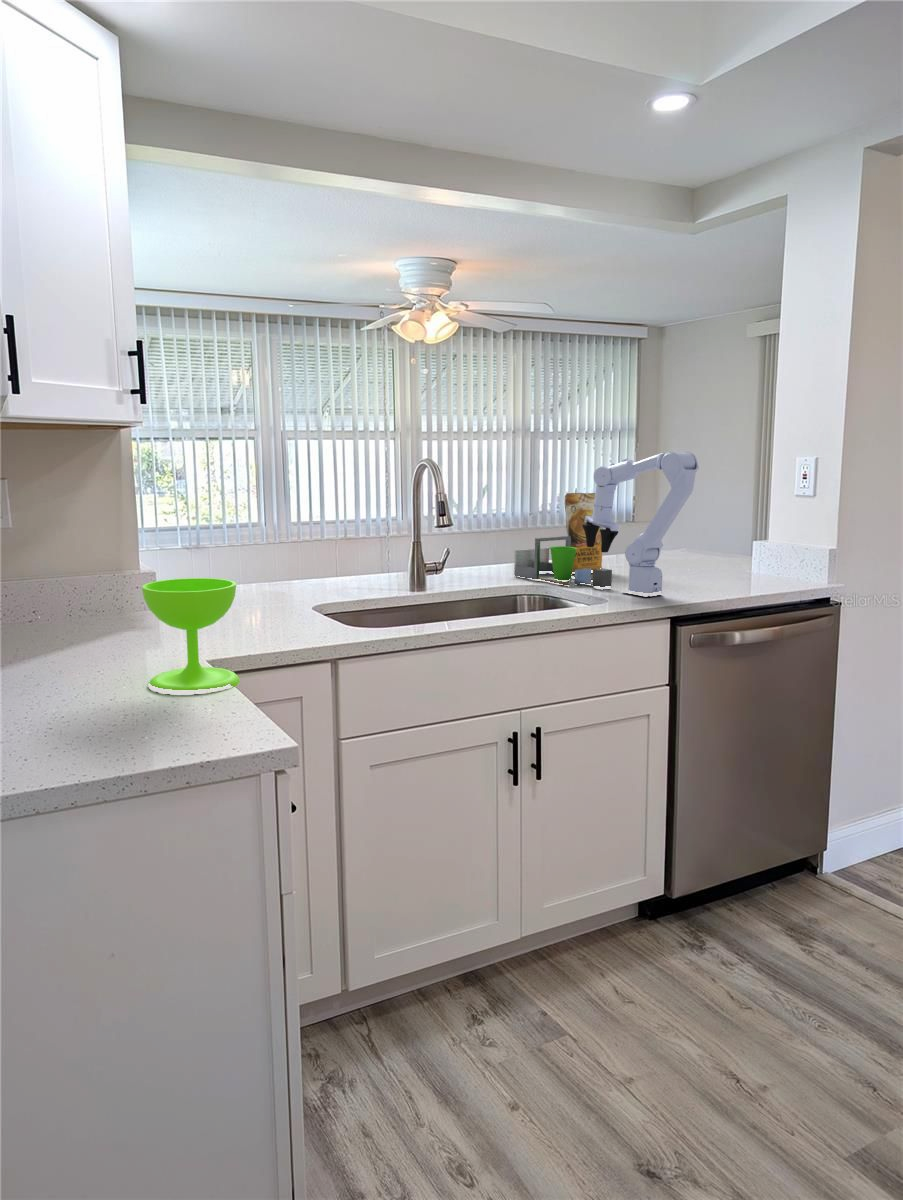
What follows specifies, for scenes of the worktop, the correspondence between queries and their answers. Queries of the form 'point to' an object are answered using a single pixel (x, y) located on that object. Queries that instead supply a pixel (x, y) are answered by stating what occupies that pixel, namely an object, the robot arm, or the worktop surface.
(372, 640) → the worktop surface
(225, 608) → the wineglass
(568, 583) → the lane rails
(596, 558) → the pancake mix bag
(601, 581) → the blue and gray block
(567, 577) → the cup
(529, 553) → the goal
